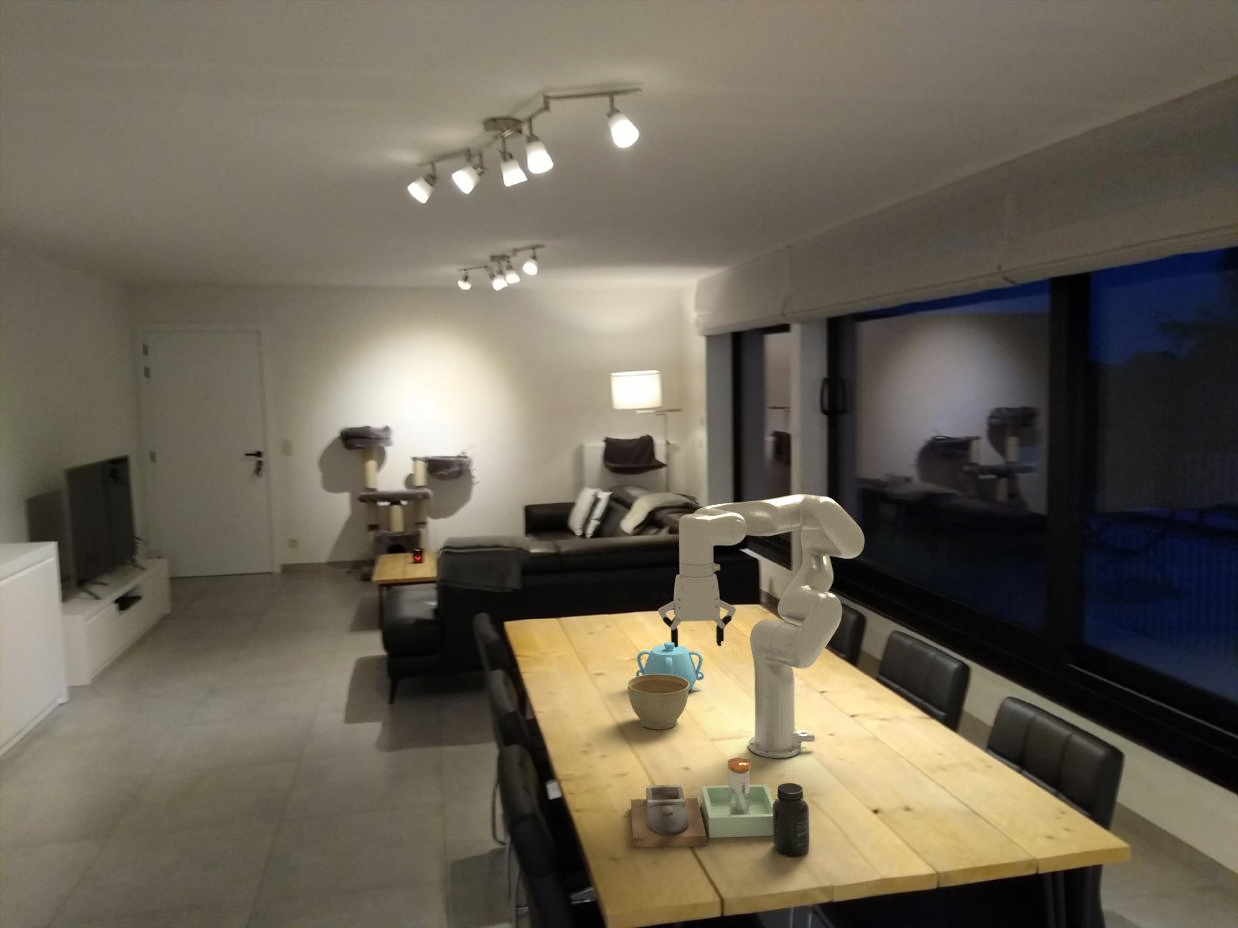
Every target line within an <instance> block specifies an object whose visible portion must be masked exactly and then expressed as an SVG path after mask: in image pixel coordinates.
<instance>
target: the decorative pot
mask: <svg viewBox="0 0 1238 928" xmlns="http://www.w3.org/2000/svg"><path fill="white" fill-rule="evenodd" d="M644 655H647V656H648V657H647V659H646V662H645V665H644V666H643V664H642V660H641V657H642V656H644ZM692 655H693V656H697V657H698V664H697V667H696V665H695V662H694V660H693V657H692ZM636 661H637V664H638V667H639V669H638V670H637V671H636V672H635V677H638V676H641V675H648V674H668V675H674V676H678V677H681V678H684V679H686V680H687V681H688V682H689V690H688V691H690V690H692V688H693V687H694V685H695V683H696V682H697V681H702V680H704V679H705V673H704V671H701V668H702V665H703V655H702V654H701V653H700V652H698V651H696V650H690V651H689V649H688V647H687V646H684V645H678V647H675V646H674V643H671V641H666V642H663V645H656V646H653V647H652V648H651V650H646V649H644V650H642V651H640V652H639V653H638V654H637V656H636ZM640 673H641V675H640ZM699 675H700V676H699Z"/></svg>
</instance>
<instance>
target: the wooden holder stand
mask: <svg viewBox="0 0 1238 928" xmlns="http://www.w3.org/2000/svg"><path fill="white" fill-rule="evenodd" d="M630 816H631V828H632V829H631V830H632V843H633V848H636V849H637V848H638V849H639V848H669V847H671V848H672V847H674V848H675V847H676V848H677V847H699V846H700V847H704V846H707V834H706V830H705V826H704V821H703V817H702V812H701V809H700V804H699V799H698V797H685V795H684V790H683V785H682V784H664V785H663V784H661V785H660V784H659V785H645V798H637V799H636V798H635V799H633V798H631V799H630Z"/></svg>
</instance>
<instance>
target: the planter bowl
mask: <svg viewBox="0 0 1238 928" xmlns="http://www.w3.org/2000/svg"><path fill="white" fill-rule="evenodd" d="M627 689H628V690H627V691H628V697H629V702H630V706H631V708H632V710H633V711H634V713H635V715H636V716H637V718H638V719H639V721H640V725H641V726H643V727H644V728H647V729H650V730H669V729H671V728H673V727H675V726H676V725H677V724H678V719H679V718H680V717H681V715H682V714H683V713H684V711H685V708H686V705H687V703H688V698H689V691H690V690H689V682H688V681H687V680H686V679H684V678H681V677H678V676H674V675H668V674H648V675H642V674H641V675H640V676H638V677H636V676H635V677H632V678H631V679H630V680H629V681H627Z"/></svg>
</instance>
